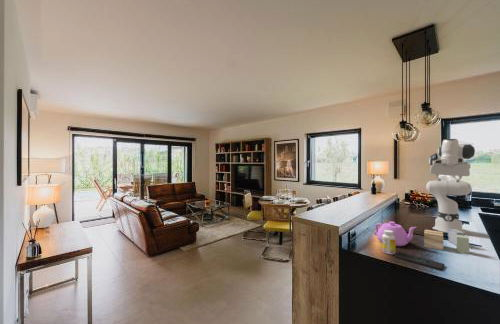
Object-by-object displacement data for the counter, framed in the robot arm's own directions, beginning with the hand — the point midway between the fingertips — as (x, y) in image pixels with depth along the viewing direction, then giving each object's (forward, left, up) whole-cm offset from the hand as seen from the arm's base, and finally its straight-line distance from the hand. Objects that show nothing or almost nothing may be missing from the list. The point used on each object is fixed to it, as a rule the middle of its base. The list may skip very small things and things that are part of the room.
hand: (448, 181), depth 148 cm
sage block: (+22, +5, -40) cm, 46 cm away
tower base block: (+22, -8, -40) cm, 46 cm away
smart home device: (+54, -14, -40) cm, 69 cm away
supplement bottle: (+51, -28, -40) cm, 70 cm away
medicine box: (+8, +3, -40) cm, 41 cm away
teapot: (+30, -28, -40) cm, 57 cm away
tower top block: (+22, -8, -36) cm, 42 cm away
